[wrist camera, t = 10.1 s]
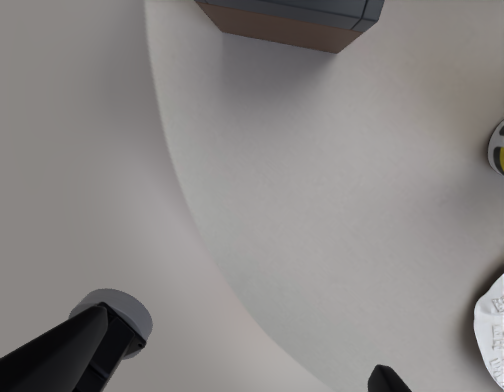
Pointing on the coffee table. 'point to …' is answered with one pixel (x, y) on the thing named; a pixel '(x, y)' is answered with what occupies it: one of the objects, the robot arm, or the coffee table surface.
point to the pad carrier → (296, 20)
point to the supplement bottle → (497, 149)
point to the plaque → (491, 329)
